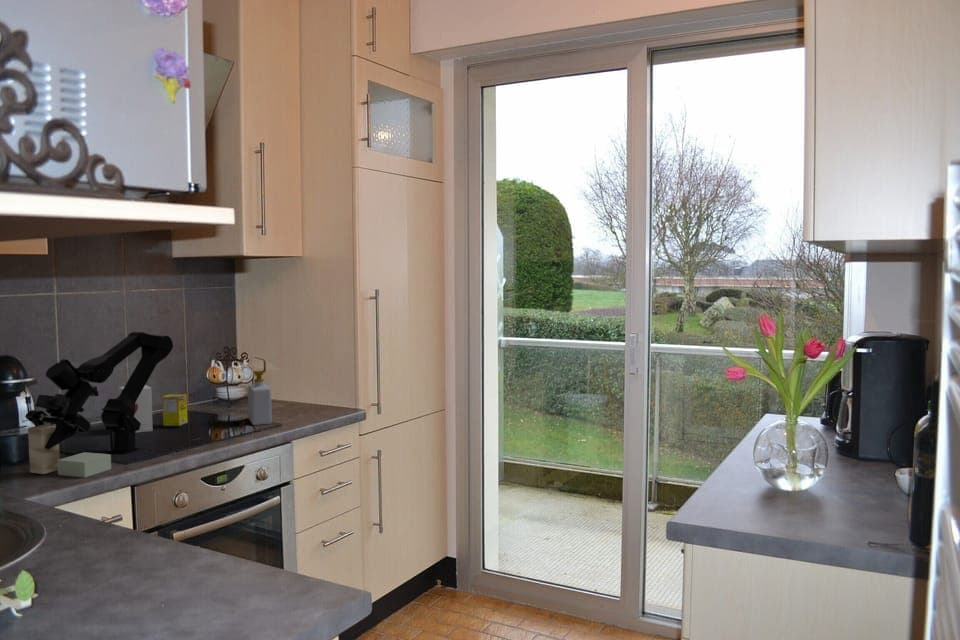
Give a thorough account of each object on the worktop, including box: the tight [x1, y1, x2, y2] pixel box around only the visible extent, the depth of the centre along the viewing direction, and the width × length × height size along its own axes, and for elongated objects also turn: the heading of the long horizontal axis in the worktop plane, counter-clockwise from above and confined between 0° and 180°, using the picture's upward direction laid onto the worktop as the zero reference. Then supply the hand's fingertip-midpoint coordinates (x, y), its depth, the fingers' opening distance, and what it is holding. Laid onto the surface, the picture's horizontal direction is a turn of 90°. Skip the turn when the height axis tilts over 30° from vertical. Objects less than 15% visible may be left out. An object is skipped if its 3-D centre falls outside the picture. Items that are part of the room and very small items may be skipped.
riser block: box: [57, 451, 112, 478], centre depth 204 cm, size 9×9×4 cm
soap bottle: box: [247, 356, 273, 426], centre depth 270 cm, size 12×7×23 cm, turn 24°
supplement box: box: [162, 393, 189, 429], centre depth 263 cm, size 6×6×11 cm
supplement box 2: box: [117, 384, 153, 434], centre depth 256 cm, size 9×9×15 cm
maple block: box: [27, 424, 61, 475], centre depth 203 cm, size 5×5×12 cm
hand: (39, 447), depth 202 cm, fingers closed on maple block, 5 cm apart
